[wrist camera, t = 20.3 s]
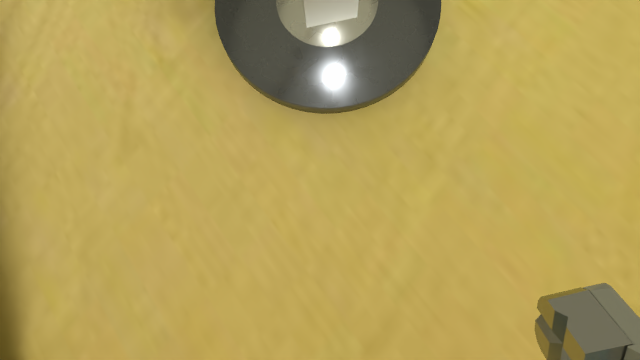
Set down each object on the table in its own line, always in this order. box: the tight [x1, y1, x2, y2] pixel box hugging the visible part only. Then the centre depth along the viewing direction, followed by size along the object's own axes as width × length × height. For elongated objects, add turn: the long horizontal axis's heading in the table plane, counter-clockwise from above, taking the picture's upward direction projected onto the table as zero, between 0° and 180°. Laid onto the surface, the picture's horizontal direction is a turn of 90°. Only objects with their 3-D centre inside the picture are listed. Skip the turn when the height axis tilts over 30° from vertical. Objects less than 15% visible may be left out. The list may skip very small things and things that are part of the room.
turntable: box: [215, 0, 441, 113], centre depth 43 cm, size 20×20×2 cm
